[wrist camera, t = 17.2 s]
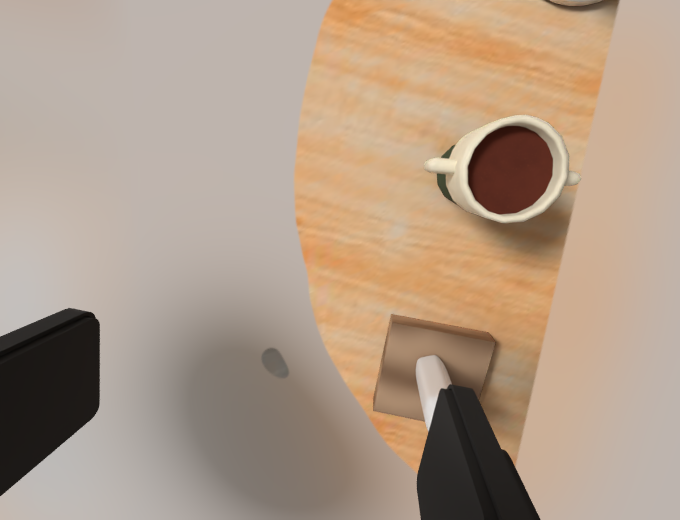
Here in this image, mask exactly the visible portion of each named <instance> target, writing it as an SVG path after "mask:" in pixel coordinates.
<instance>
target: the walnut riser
mask: <svg viewBox="0 0 680 520" xmlns="http://www.w3.org/2000/svg"><path fill="white" fill-rule="evenodd" d="M495 343H496V342H495V341H494V340H493V338H492V337H491V335H490V334H489V333H488V332H483V331H477V330H472V329H467V328H462V327H456V326H451V325H446V324H441V323H435V322H430V321H425V320H420V319H414V318H409V317H404V316H399V315H393V314H391V318H390V322H389V327H388V332H387V336H386V341H385V346H384V351H383V355H382V360H381V365H380V369H379V374H378V379H377V383H376V388H375V393H374V398H373V411H376V412H381V413H386V414H391V415H395V416H400V417H405V418H410V419H415V420H420V421H425V419H424V414H423V409H422V404H421V399H420V395H419V390H418V385H417V380H416V364H417V360H418V359H419V358H421V357H425V356H430V355H436V356H438V357H439V358H440V359H441V361H442V362H443V364H444V365H445V367H446V370H447V372H448V375H449V378H450V380H451V383H452V384H453V385H458V386H463V387H468V388H472V389H473V390H474V392H475V394H476V396H477V398H478V400H479V398H480V394H481V391H482V388H483V384H484V381H485V377H486V374H487V371H488V367H489V364H490V360H491V357H492V354H493V350H494V347H495Z"/></svg>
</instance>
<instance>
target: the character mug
mask: <svg viewBox="0 0 680 520" xmlns="http://www.w3.org/2000/svg"><path fill="white" fill-rule="evenodd" d="M424 168H425V170H426V171H428V172H430V173H437V182H438V186H439V188H440V189H441V191H442V193H443V195H444V196H445V197H446V198H448V199H449V200H451V201H452V202H454V203H456V204H458V205H459V206H460V207H461V208H463V209H464V210H465V211H467V212H470V213H473V214H476V215H478V216H481V217H484V218H487V219H491V220H494V221H497V222H500V223H513V222H524V221H526V220H529V219H531V218H533V217H535V216H537V215H539V214H541V213H543V212H545V211H546V210H547V209H548V208H549V207H550V206H551V205H552V204H553V203H554V202H555V201H556V200H557V199H558V198H559V197H560V194H561V192H562V190H563V188H564V186H572V185H576V184H578V182H579V181H580V180H581V177H580V174H579V173H576V172H574V171H569V154H568V151H567V148H566V146H565V143H564V141H563V138H562V136H561V135H560V134H559V133H558V132H557V131H556V130H555V129H554V128H553V127H552V126H551V125H550V124H549V123H548V122H546V121H544V120H542V119H539V118H537V117H534V116H529V115H515V116H510V117H506V118H502V119H499V120H497V121H495V122H490V123H488V124H486V125H484V126H482V127H480V128H478V129H476V130H474V131H472V132H470V133H468V134H467V135H465V136H464V137H462V138H461V139H460V140H459V142H458V143H457V144H456V145H454V146H452V147H451V148H450V149H449V150H448V151H447V152H446V153H445V154H444V155H443V156H442V157H441V158H432V159H430V160H427V161H426V162H425V164H424Z"/></svg>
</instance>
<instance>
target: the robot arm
mask: <svg viewBox="0 0 680 520" xmlns="http://www.w3.org/2000/svg"><path fill="white" fill-rule="evenodd" d="M550 1H552V2H554V3H557V4H562V5H567V6H584V5H588V4H593V3H598V2H600V1H602V0H550ZM99 369H100V324H99V321H98V320H97V319H96V318H95V315H94V314H93V313H91V312H87V311H82V310H77V309H71V308H68V309H65V310H62V311H60V312H58V313H55V314H53V315H50V316H48V317H46V318H43V319H41V320H39V321H36V322H34V323H31V324H29V325H27V326H24V327H22V328H20V329H17V330H15V331H13V332H10V333H8V334H6V335H3V336H1V337H0V496H1V495H2V494H4V493H5V492H6V491H7V490H8V489H9V488H11V487H12V486H13V485H14V484H15V483H16V482H18V481H19V480H20V479H21V478H22V477H24V476H25V475H26V474H27V473H28V472H30V471H31V470H32V469H33V468H34V467H35V466H37V465H38V464H39V463H40V462H41V461H43V460H44V459H45V458H46V457H47V456H48V455H50V454H51V453H52V452H53V451H54V450H55V449H57V448H58V447H59V446H60V445H61V444H62V443H64V442H65V441H66V440H67V439H68V438H70V437H71V436H72V435H73V434H74V433H75V432H77V431H78V430H79V429H80V428H81V427H83V426H84V425H85V424H86V423H87V422H89V421H90V420H91V419H92V418H93V417H94V416H95V414H96V412H97V411H98V408H99V397H100V393H99V392H100V390H99V388H100V387H99V385H100V383H99V382H100V379H99V377H100V370H99ZM417 493H418V500H419V508H420V515H421V520H540V518H539V516H538V514H537V512H536V509H535V507H534V505H533V503H532V501H531V499H530V497H529V495H528V493H527V491H526V489H525V487H524V485H523V483H522V481H521V478H520V476H519V474H518V473H517V470H516V468H515V466H514V464H513V462H512V460H511V458H510V456H509V455H508V453H507V452H506V451H504V450H502V449H501V448H500V445H499V443H498V441H497V439H496V437H495V435H494V432H493V430H492V428H491V426H490V424H489V422H488V420H487V417H486V415H485V413H484V411H483V409H482V407H481V404H480V402H479V400H478V398H477V396H476V394H475V392H474V390H473V389H472V388H468V387H463V386H458V385H453V384H450V385H448V387H447V389H444V388H441V389H440V391H439V394H438V398H437V402H436V406H435V409H434V413H433V417H432V421H431V425H430V428H429V432H428V436H427V440H426V444H425V448H424V451H423V455H422V459H421V463H420V467H419V470H418V475H417Z"/></svg>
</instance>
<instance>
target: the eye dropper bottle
mask: <svg viewBox="0 0 680 520" xmlns="http://www.w3.org/2000/svg"><path fill="white" fill-rule="evenodd" d="M416 380H417V385H418V390H419V395H420V399H421V404H422V409H423V414H424V419H425V423H426V427H427V429H428V432H429V428H430V425H431V421H432V417H433V413H434V409H435V406H436V402H437V398H438V394H439V391H440V389H441V388H444V389H447V387H448V385H450V384H452V383H451V380H450V378H449V375H448V372H447V370H446V367H445V365H444V364H443V362H442V361H441V359H440V358H439V357H438V356H436V355H430V356H425V357H421V358H419V359H418V360H417V364H416Z"/></svg>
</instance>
